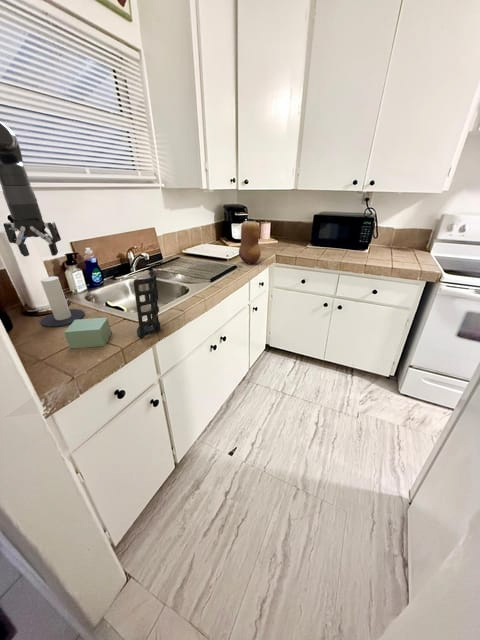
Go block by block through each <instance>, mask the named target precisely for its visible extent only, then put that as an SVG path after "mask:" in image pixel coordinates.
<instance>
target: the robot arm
mask: <svg viewBox="0 0 480 640" xmlns="http://www.w3.org/2000/svg"><path fill="white" fill-rule="evenodd" d="M0 187H1V191H2V190H3V191H2V195H3V197H4V200H5V203H6V205H7V208H8V210H9V213H10V215H11V218H12V219H13V222H11V221H8V222H4V223H3V224H2V225H3V229H4V231H5V234H6V238H7V240H8V242H9V244H16V245H17V247H18V250H19V252H20V255H22V256H23V257H29V256H30V252H29V248H28V246H27V243H26V240H27V238H41V239H42V240H44V241H45V242H47V244H48V248H49V252H50V254H51V256H52V257H53V256H54V257H56V256H57V255H58V253H59V250H58V247H57V243H58V242H60V241H61V240H62V237H61V235H60V232H59V230H58V227H57V225H56V222H55V221H51V222H45V221H44V219H43V215H42V212H41V210H40V206H39V203H38V199H37V197H36V194H35V192H34V190H33V187H32V185H31V182H30V179H29V176H28V173H27V170H26V167H25V165H24V159H23V155H22V151H21V146H20V143H19V141H18V137H17V136H16V134H15V133H14V131H13V130H12V129H11V128H10V127H8V126H7V125H5V124H4V123H3V122H1V121H0ZM46 228H47V230H48V231H49V232H50V233H49V232H48V231H47V230H46ZM16 230H17V231H19V232H18V234H16Z"/></svg>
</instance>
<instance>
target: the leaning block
mask: <svg viewBox="0 0 480 640" xmlns="http://www.w3.org/2000/svg"><path fill="white" fill-rule="evenodd" d="M63 333H64V335H65V338H66V341H67V343H68V346H69V349H71V350H72V349H85V348H96V347H105V346H106V345H107V343H108V340H109V339H110V338H111V335H112V333H113V332H112V329H111V325H110V321H109V317H94V318H82V319H78V320H74V321H73V323H72V324H70V325H68V327H67V329H65V331H64V332H63Z"/></svg>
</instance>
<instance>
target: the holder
mask: <svg viewBox="0 0 480 640" xmlns="http://www.w3.org/2000/svg"><path fill="white" fill-rule="evenodd" d="M149 272H150V276H149V277H147V278H139V279H137V278H136V279H134V280H133V288H134V289H133V291H134V297H135V305H136V312H137V320H138V327H137V328H136V335H137V336H138V337H139V338H140V339H142V338H144V337H146V336H150V335H153V334H154V333H158V332H160V330H161V322H160V320H159V313H160V308H159V305H158V301H159V290H158V288H157V287H158V286H157V282H158V279H157V273H156V272H155V271H154V270H150V271H149ZM147 284H148V287H149V288H148V289H147V290H146V289H145V290H140V287H139V286H141V285H147ZM141 296H144V301H141V298H140V297H141ZM148 305H150V309H149V310H146V311H142V307H144V306H148ZM145 316H146V320H145V321H143V317H145Z"/></svg>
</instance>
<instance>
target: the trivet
mask: <svg viewBox="0 0 480 640" xmlns="http://www.w3.org/2000/svg"><path fill="white" fill-rule="evenodd" d="M69 310H70V313H71V317H69V318H67V319H64V320H56V319H55V317H54V315H53V312H51V313H50V314H47V315H46V316H44V317H43V318H42V319H41V320H40V324H41V326H42V327H45V328H53V329H54V328H60V327H67V326H70V325H71V324H72V323H73V321H74V320H78V319H84V317H85V311H84V310H82V309H79V308H69Z"/></svg>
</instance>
